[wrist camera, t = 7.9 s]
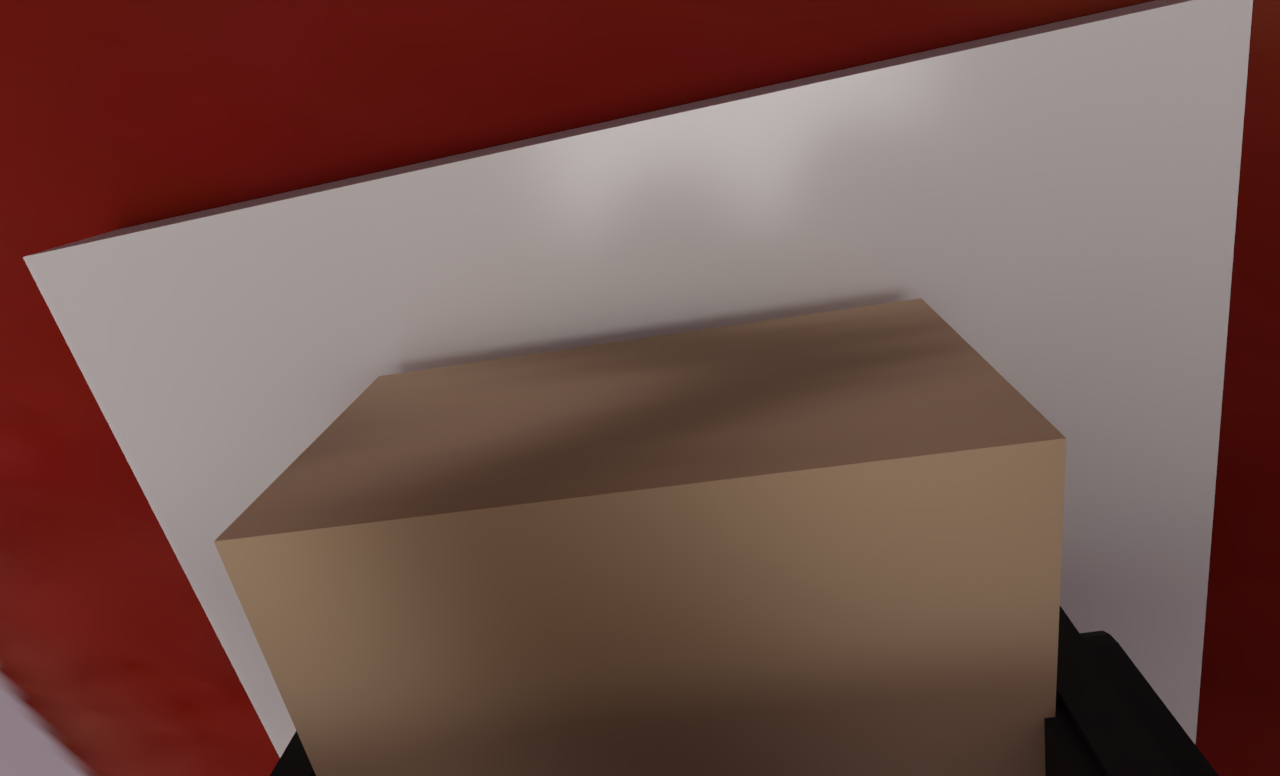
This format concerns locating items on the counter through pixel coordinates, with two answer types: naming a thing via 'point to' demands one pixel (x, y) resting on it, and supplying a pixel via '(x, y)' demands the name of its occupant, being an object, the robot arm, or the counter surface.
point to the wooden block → (672, 561)
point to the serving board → (739, 284)
